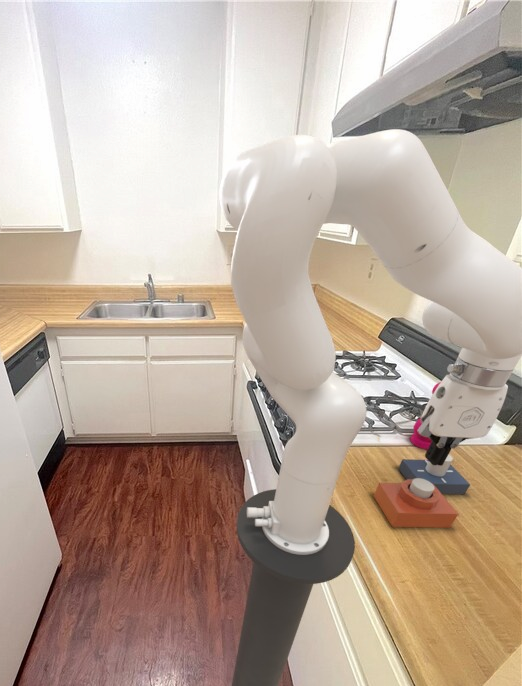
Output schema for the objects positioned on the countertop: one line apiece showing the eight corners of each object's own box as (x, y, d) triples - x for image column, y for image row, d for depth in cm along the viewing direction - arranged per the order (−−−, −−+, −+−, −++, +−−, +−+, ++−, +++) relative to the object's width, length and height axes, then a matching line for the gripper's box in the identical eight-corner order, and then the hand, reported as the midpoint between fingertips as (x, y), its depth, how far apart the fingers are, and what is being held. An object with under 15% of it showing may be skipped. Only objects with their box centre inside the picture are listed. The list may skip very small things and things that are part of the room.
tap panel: (417, 493, 79) (422, 483, 77) (398, 468, 86) (402, 458, 85) (464, 494, 79) (471, 484, 77) (441, 469, 87) (446, 459, 85)
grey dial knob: (448, 476, 79) (457, 460, 77) (431, 476, 79) (440, 460, 77) (438, 465, 83) (446, 449, 80) (421, 465, 83) (429, 449, 80)
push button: (415, 498, 70) (418, 491, 68) (405, 485, 73) (408, 477, 72) (434, 498, 70) (438, 491, 68) (423, 485, 73) (427, 478, 72)
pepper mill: (431, 437, 99) (462, 372, 88) (441, 452, 93) (476, 384, 82) (404, 434, 100) (431, 369, 89) (413, 449, 94) (443, 381, 83)
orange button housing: (392, 526, 70) (402, 505, 67) (373, 495, 78) (381, 475, 75) (450, 527, 71) (463, 506, 67) (426, 496, 78) (436, 476, 75)
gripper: (448, 380, 53) (404, 472, 63) (543, 384, 54) (484, 475, 64) (422, 362, 60) (386, 448, 70) (506, 365, 60) (458, 451, 70)
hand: (433, 460), depth 67 cm, fingers closed
